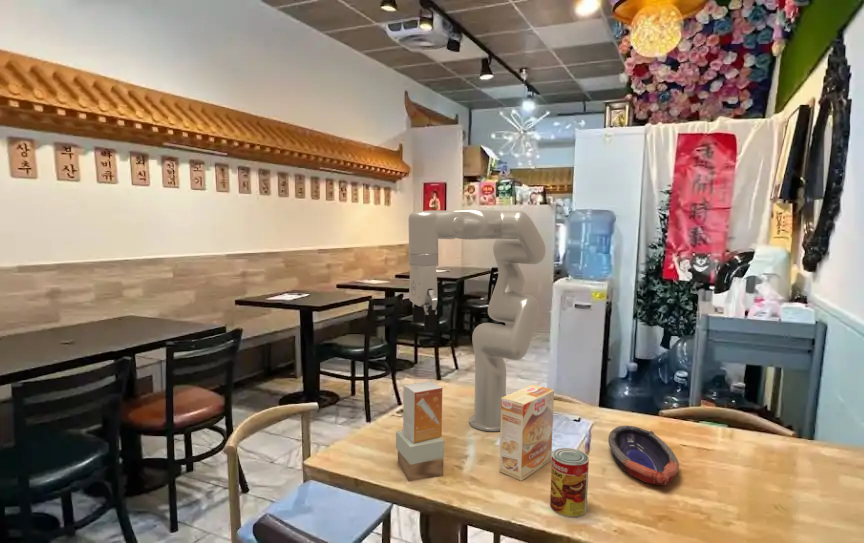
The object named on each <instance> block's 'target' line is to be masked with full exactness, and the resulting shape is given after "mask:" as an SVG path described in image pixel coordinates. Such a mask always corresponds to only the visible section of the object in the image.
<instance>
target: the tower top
mask: <svg viewBox="0 0 864 543" xmlns="http://www.w3.org/2000/svg"><path fill="white" fill-rule="evenodd" d="M395 441H396V442H395V448H396V450H397V452H398V451H399V452H400V453H401V454H402V456H403V457H404V458H405V459H406V460H407V462H408V463H409V464H410V465H412V464H417V463H422V462H427V461H432V460H437V459H442V458H443V459H444V458H445V456H444V455H445V441H444V439H443V438H442V437H440V438H434V439H429V440H425V441H420V442H416V443H413V442H412V441H411V440H410V439H408V438H407V437H406V436H405V435H404V434H403V429H402V430H396V431H395Z"/></svg>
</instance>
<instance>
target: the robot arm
mask: <svg viewBox="0 0 864 543" xmlns="http://www.w3.org/2000/svg"><path fill="white" fill-rule="evenodd" d="M455 239H460V240H474V241H477V240H494V242H493V245H492V246H493V247H492V250H493V256H494V259H495V262H496V265H497V273H498V274H497V275H498V276H497V280H496V283H495V286H494V289H493V292H492V295H491V298H490V300H489V302H488V307H487V315H488V316H489V318H490V319H492V320H493V321H496V322H500V323H505V324H511V325H512V326H509V325H504V324H499V323H495V322H494V323H492V322H483V323H481V324H478V325H477V326H476V327H475V328H474V330H473V331H472V336H471V338H472V340H471V341H472V347H473V353H474V366H475V368H474V414H473V415H471V416H470V417H469V422H468V423H469V425H470V426H471V427H472V428H474V429H477V430H480V431H484V432H500V428H501V398H502V397H504V396H507V391H506V390H507V367H506V363H505V360H504V359H508V360H514V361H519V360H522V359H523V358H524V357H525V356H526V354H527V353H528V350H529V348H530V346H531V342H532V338H533V335H534V332H535V328H536V327H537V323H538V319H539V314H540V306H539V301H538V300H537V298H535V297H534V296H533V295H531V294H528V293H527V294H526V293H523V290H524V286H525V276H524V274H523V272H522V270H521V268H520V266H519V264H522V265H524V264H525V265H538V264H539V263H541V262H542V261H543V260H544V258H545V256H546V245H545V242H544V239H543V238H542V236H541V234H540V232H539V230H538V228H537V225H535V223H534V221H533V220H532V219H531V217H530V216H529V215H528V214H527V213H526V212H525V211H522V210H493V209H491V210H490V209H486V210H485V209H465V210H463V209H462V210H461V209H460V210H422V211H414V212H411V213H409V216H408V266H409V267H410V271H409V285H408V286H409V291H408V294H409V295H408V298H409V302H412V303H411V304H412V322H413V323H415V324H416V323H423V330H424V331H426V332H427V331H428V332H429V331H436V330H437V329H438V327H437V326H438V321H437V320H438V319H437V318H438V317H437V316H438V277H437V276H438V275H437V267H439V240H455Z"/></svg>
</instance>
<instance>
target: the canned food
mask: <svg viewBox="0 0 864 543" xmlns="http://www.w3.org/2000/svg"><path fill="white" fill-rule="evenodd" d="M589 463H590V459H589V455H588V454H586V453H585V452H584V451H582V450H580V449H576V448H571V447H561V448H557V449H554V450H553V451H552V455H551V466H550V467H551V468H550V470H551V471H550V472H551V473H550V474H551V475H550V496H549V500H550V501H549V502H550V503H549V505H550V508H551V510H552V512H554V513H555V514H557V515H559V516H563V517H566V518H580V517H583V516H584V515H585V514H587V508H588V491H589V490H588V486H589V466H590V465H589Z"/></svg>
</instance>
